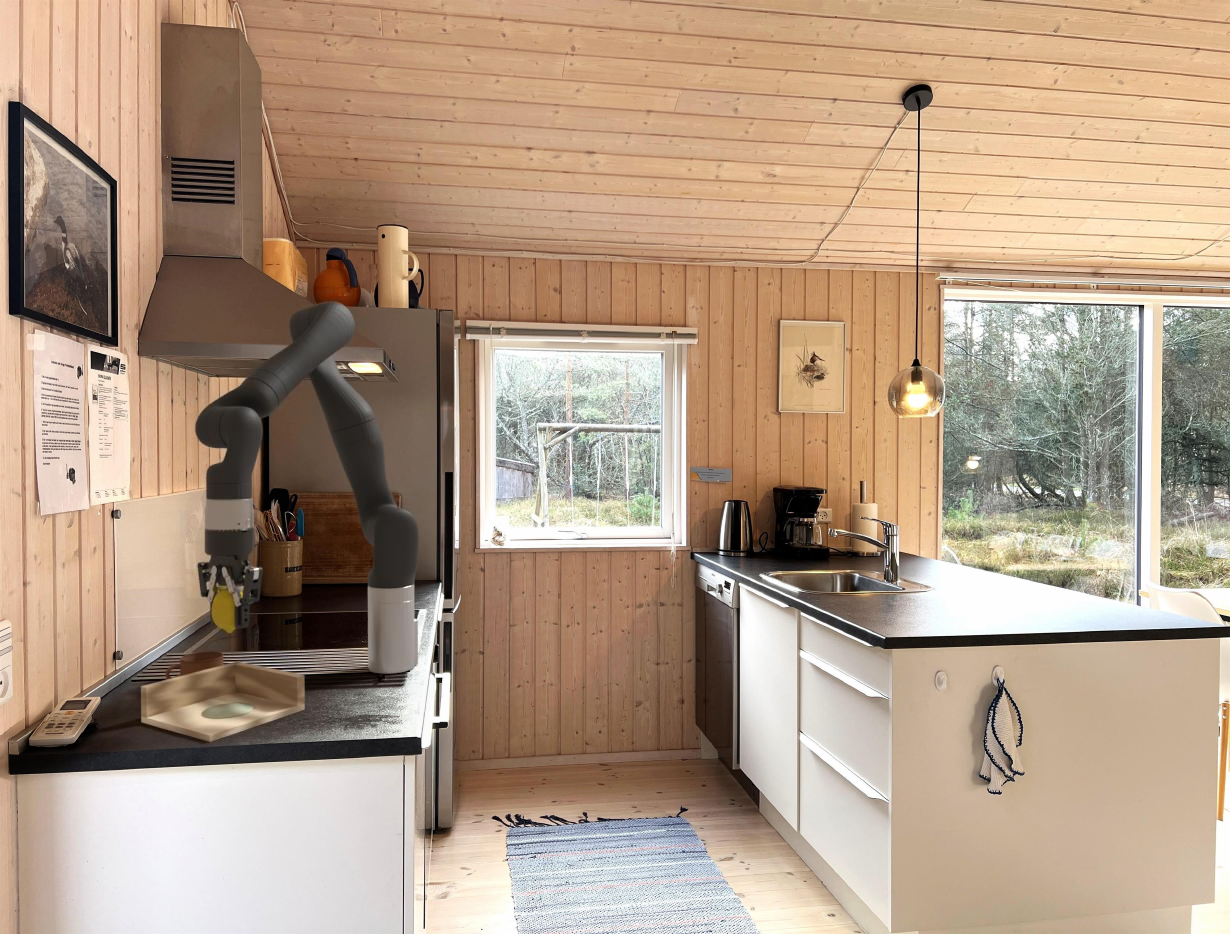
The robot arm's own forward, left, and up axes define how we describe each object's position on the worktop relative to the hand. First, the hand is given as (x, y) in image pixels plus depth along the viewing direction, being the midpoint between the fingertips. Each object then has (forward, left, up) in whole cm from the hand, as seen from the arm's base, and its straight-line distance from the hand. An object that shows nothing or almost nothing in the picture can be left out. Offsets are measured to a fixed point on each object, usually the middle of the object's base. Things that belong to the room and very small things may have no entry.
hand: (229, 625), depth 140 cm
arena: (0, -2, -16) cm, 16 cm away
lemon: (0, 0, -2) cm, 2 cm away
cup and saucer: (-8, -20, -16) cm, 27 cm away
